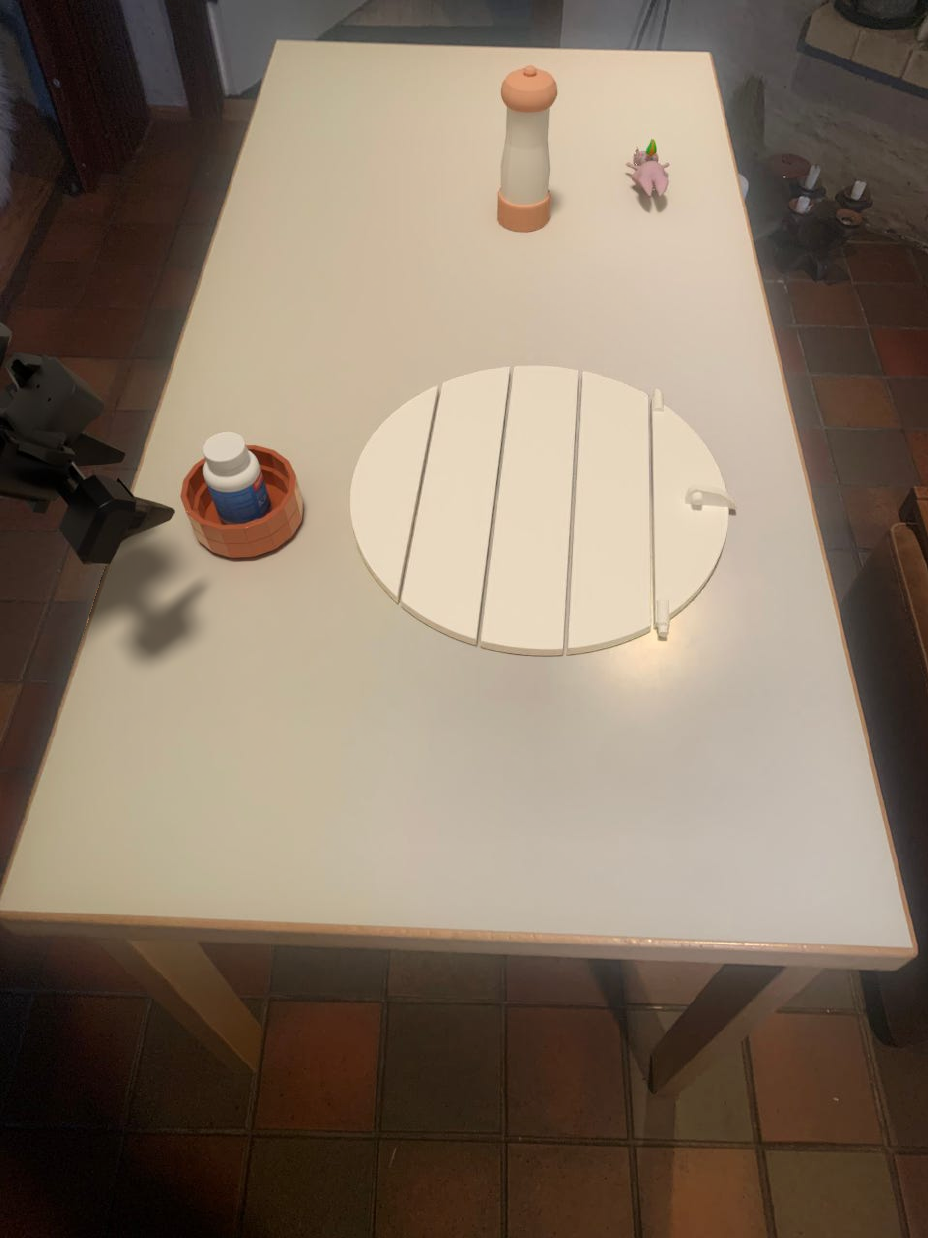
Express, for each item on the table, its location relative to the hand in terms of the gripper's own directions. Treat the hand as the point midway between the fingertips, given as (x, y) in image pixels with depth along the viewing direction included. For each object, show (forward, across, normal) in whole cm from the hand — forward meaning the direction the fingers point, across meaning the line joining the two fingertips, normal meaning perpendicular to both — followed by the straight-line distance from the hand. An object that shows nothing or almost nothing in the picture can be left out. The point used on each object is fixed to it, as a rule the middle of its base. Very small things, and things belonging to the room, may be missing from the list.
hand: (147, 484), depth 76 cm
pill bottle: (+13, 0, +2) cm, 13 cm away
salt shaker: (+55, +22, -40) cm, 71 cm away
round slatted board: (+31, -18, -16) cm, 39 cm away
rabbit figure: (+68, +16, -53) cm, 88 cm away
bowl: (+13, 0, +2) cm, 13 cm away
